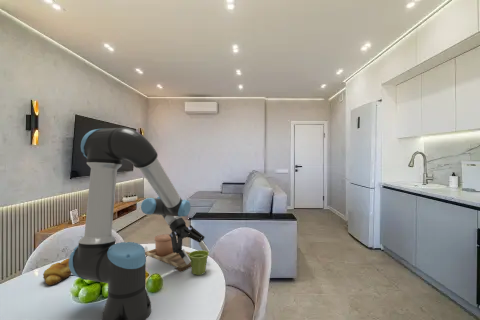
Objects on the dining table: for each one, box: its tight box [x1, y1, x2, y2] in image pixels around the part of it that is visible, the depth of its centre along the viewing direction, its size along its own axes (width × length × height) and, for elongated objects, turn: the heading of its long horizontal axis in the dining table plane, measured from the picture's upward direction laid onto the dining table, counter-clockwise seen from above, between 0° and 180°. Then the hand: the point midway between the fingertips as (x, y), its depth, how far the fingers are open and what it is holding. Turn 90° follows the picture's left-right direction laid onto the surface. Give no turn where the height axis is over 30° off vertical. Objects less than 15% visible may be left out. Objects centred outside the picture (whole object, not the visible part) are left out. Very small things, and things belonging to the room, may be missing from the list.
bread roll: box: [42, 257, 72, 286], centre depth 111 cm, size 13×10×8 cm
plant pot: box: [188, 249, 210, 276], centre depth 117 cm, size 9×9×9 cm
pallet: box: [145, 248, 191, 273], centre depth 133 cm, size 30×14×3 cm, turn 53°
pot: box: [154, 233, 173, 256], centre depth 137 cm, size 10×10×9 cm
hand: (198, 257), depth 119 cm, fingers open, 13 cm apart
